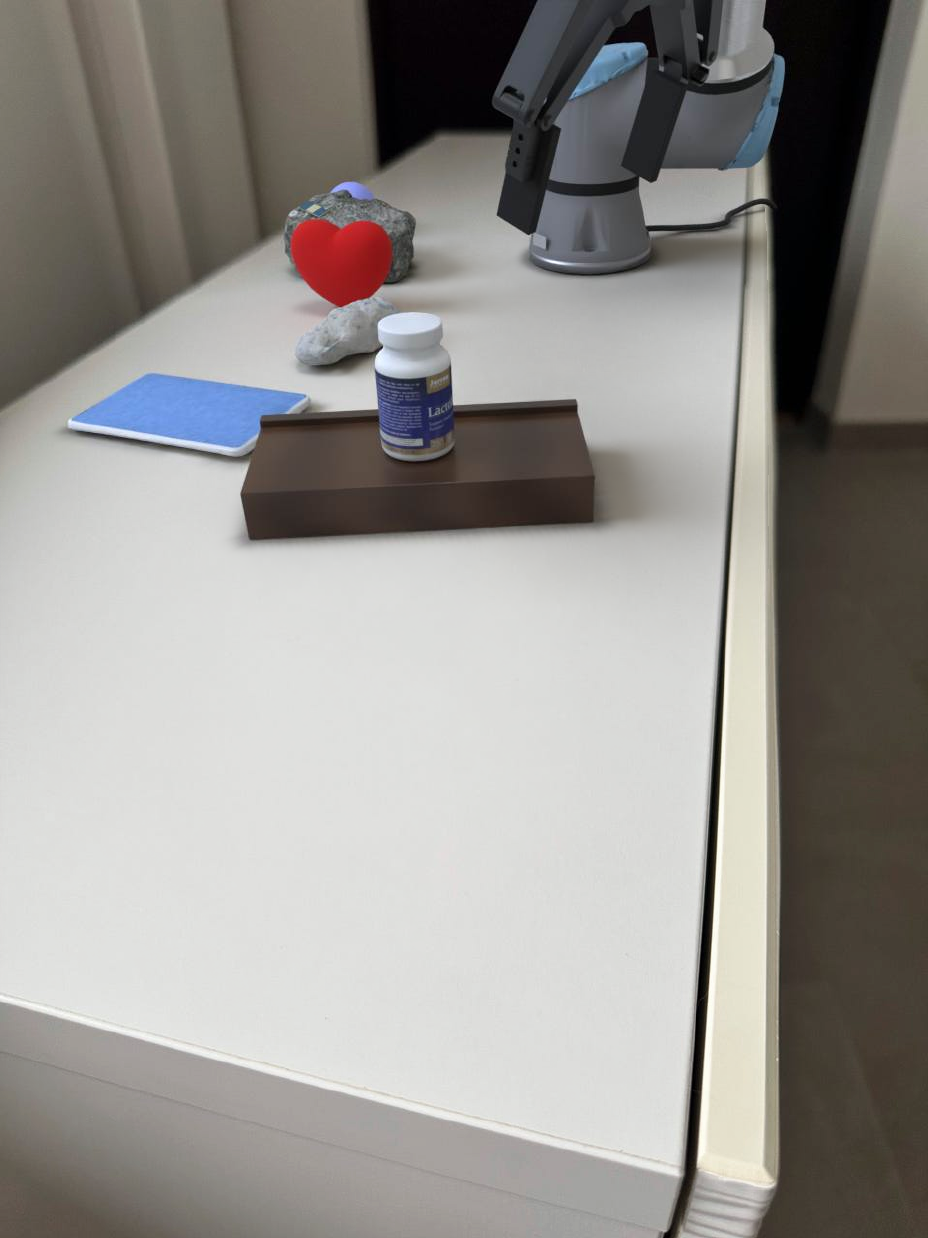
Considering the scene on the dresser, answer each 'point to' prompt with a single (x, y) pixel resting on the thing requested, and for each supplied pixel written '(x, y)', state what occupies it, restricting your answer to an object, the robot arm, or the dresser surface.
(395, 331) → the pill bottle
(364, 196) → the sphere
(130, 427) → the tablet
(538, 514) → the ledge
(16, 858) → the dresser surface
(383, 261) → the heart
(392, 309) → the decorative stone
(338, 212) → the rock
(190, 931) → the dresser surface
